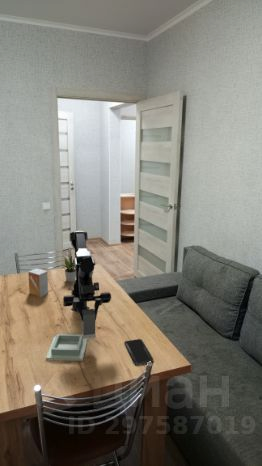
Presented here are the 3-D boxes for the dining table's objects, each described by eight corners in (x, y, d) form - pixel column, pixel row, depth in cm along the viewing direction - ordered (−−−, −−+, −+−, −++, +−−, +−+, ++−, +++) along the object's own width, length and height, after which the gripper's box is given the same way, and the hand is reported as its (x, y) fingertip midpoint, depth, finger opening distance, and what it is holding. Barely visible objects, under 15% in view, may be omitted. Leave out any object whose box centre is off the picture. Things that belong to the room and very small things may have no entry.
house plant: (87, 276, 204) (87, 251, 200) (81, 285, 191) (81, 258, 187) (64, 274, 205) (64, 249, 201) (57, 283, 192) (57, 257, 188)
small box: (29, 293, 178) (27, 271, 175) (37, 289, 183) (36, 267, 180) (40, 297, 174) (39, 274, 171) (48, 293, 180) (47, 271, 176)
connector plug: (82, 332, 132) (81, 309, 129) (93, 330, 133) (93, 308, 131) (83, 338, 127) (83, 315, 125) (95, 337, 129) (95, 314, 126)
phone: (134, 363, 123) (123, 341, 136) (134, 366, 123) (123, 343, 137) (154, 360, 125) (141, 338, 139) (154, 362, 125) (141, 340, 139)
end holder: (54, 338, 138) (53, 331, 137) (87, 339, 138) (87, 332, 137) (45, 360, 124) (45, 351, 123) (82, 361, 124) (82, 352, 124)
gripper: (62, 276, 126) (65, 317, 118) (110, 273, 130) (115, 312, 123) (62, 287, 135) (64, 325, 128) (107, 283, 139) (111, 320, 132)
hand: (89, 320), depth 127 cm, fingers closed on connector plug, 5 cm apart
